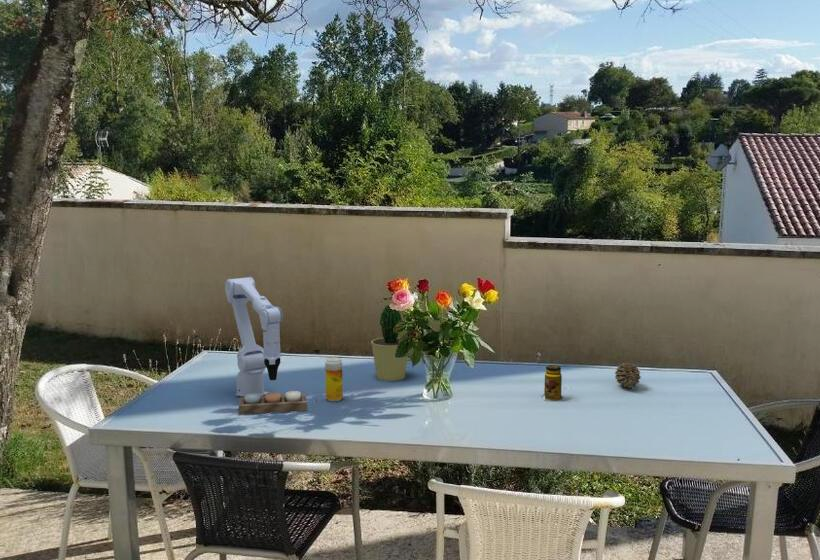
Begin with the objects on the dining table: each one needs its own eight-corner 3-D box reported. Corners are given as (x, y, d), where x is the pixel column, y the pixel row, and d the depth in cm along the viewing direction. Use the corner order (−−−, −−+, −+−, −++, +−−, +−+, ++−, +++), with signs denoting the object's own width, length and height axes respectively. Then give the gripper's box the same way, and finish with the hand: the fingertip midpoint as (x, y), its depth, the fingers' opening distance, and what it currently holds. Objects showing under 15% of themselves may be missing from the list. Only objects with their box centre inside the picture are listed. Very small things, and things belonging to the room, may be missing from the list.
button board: (239, 414, 259) (238, 406, 259) (240, 405, 269) (239, 397, 268) (307, 410, 263) (306, 402, 263) (305, 402, 273) (305, 394, 272)
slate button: (244, 405, 261) (244, 398, 261) (245, 401, 266) (245, 393, 266) (260, 404, 262) (259, 397, 262) (260, 400, 267) (260, 392, 267)
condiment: (545, 401, 273) (546, 368, 271) (540, 394, 281) (541, 362, 280) (565, 401, 273) (566, 368, 272) (559, 394, 282) (560, 362, 280)
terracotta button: (265, 404, 263) (265, 396, 262) (265, 400, 268) (265, 392, 267) (280, 403, 263) (280, 396, 263) (280, 399, 268) (280, 391, 268)
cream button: (285, 403, 264) (285, 395, 263) (285, 399, 269) (285, 391, 268) (301, 402, 265) (300, 394, 264) (300, 398, 270) (300, 390, 269)
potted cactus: (363, 377, 304) (362, 304, 300) (389, 370, 316) (388, 299, 311) (392, 384, 294) (391, 308, 290) (417, 376, 306) (417, 303, 301)
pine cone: (644, 393, 282) (645, 367, 280) (617, 392, 283) (618, 367, 281) (632, 377, 304) (633, 353, 302) (608, 376, 305) (608, 352, 303)
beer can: (340, 402, 272) (339, 361, 270) (323, 401, 274) (323, 360, 271) (344, 397, 278) (344, 357, 276) (328, 396, 279) (328, 356, 277)
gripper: (283, 346, 260) (284, 384, 262) (283, 336, 274) (284, 373, 276) (262, 346, 258) (263, 385, 260) (263, 337, 273) (264, 374, 275)
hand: (272, 379), depth 268 cm, fingers closed
